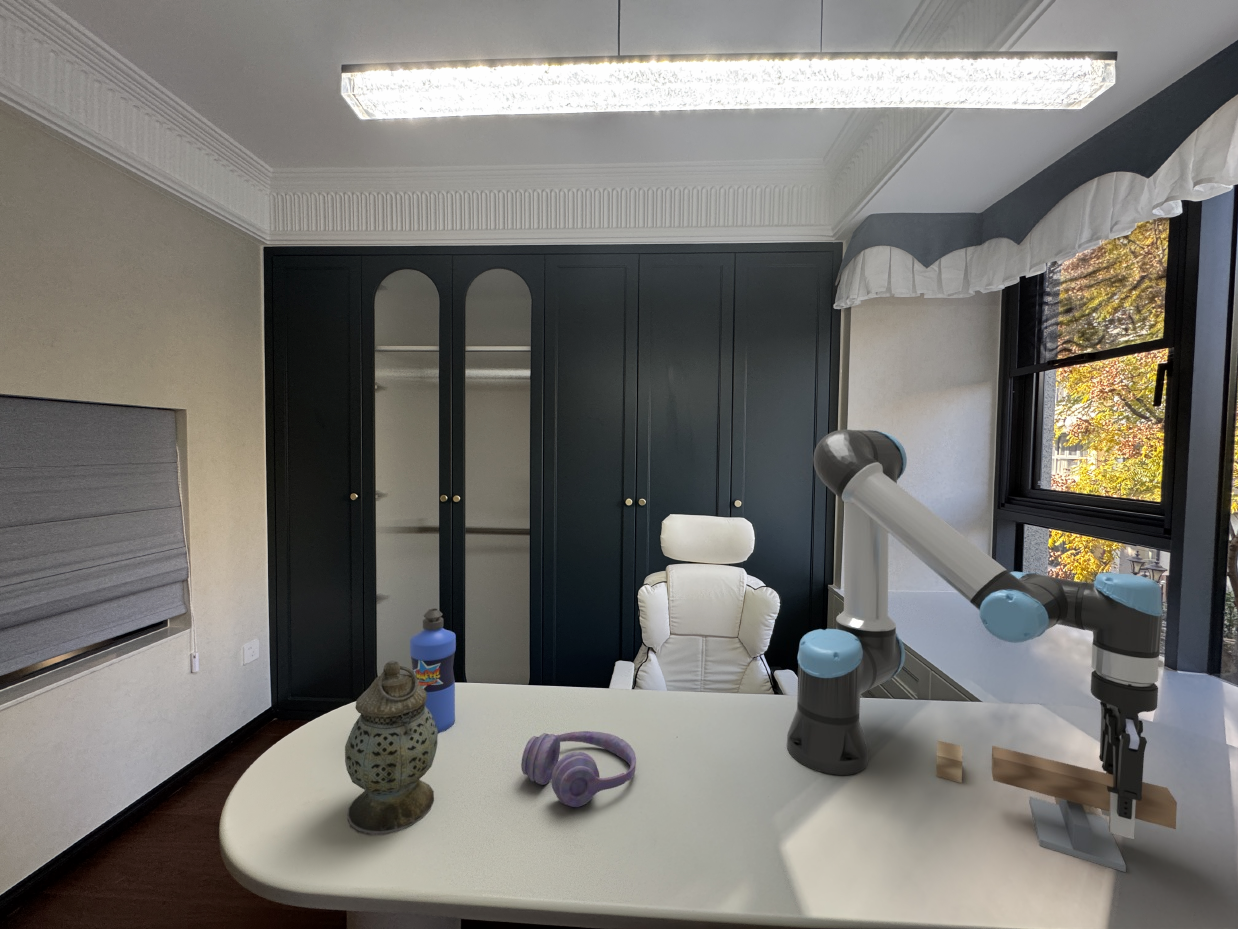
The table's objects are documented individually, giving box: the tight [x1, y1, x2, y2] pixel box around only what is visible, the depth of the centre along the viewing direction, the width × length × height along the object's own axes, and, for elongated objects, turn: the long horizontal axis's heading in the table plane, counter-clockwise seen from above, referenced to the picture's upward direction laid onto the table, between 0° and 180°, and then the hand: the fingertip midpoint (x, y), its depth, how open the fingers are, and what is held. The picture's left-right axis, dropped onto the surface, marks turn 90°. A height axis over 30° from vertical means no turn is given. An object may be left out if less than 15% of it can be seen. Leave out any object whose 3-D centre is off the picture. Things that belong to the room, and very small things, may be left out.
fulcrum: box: [1028, 796, 1127, 873], centre depth 87 cm, size 10×12×5 cm
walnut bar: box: [991, 745, 1178, 830], centre depth 87 cm, size 22×4×4 cm, turn 59°
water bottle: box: [409, 608, 457, 734], centre depth 118 cm, size 9×9×25 cm
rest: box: [935, 739, 963, 784], centre depth 104 cm, size 4×6×4 cm, turn 149°
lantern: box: [344, 660, 439, 836], centre depth 91 cm, size 14×14×25 cm
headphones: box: [520, 730, 637, 808], centre depth 101 cm, size 18×8×20 cm
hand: (1116, 824), depth 84 cm, fingers closed on walnut bar, 4 cm apart
